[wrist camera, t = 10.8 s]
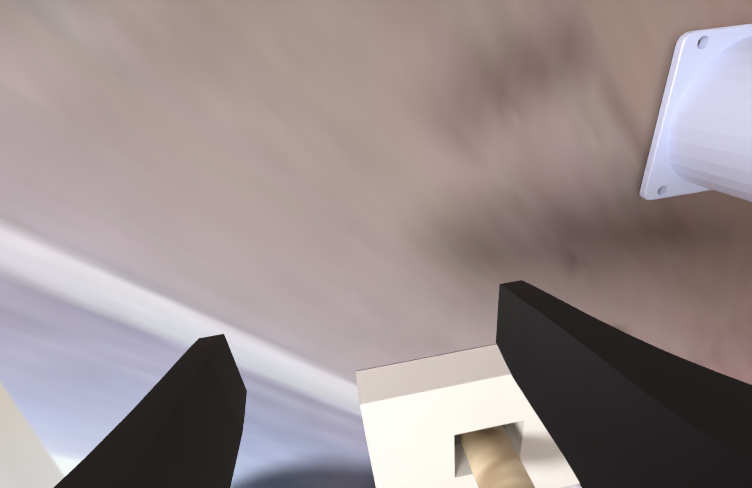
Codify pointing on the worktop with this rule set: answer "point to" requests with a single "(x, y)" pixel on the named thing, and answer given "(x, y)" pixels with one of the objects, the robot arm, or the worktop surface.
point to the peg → (494, 459)
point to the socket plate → (450, 421)
